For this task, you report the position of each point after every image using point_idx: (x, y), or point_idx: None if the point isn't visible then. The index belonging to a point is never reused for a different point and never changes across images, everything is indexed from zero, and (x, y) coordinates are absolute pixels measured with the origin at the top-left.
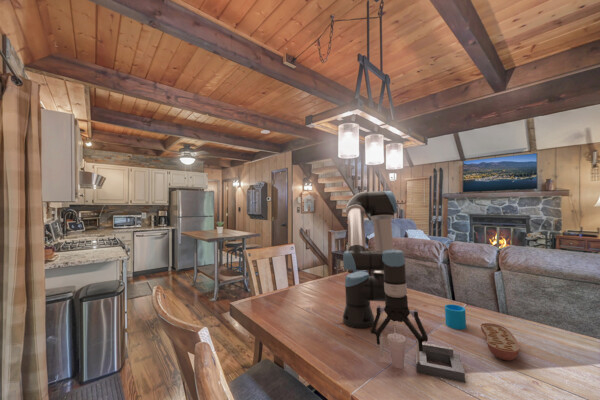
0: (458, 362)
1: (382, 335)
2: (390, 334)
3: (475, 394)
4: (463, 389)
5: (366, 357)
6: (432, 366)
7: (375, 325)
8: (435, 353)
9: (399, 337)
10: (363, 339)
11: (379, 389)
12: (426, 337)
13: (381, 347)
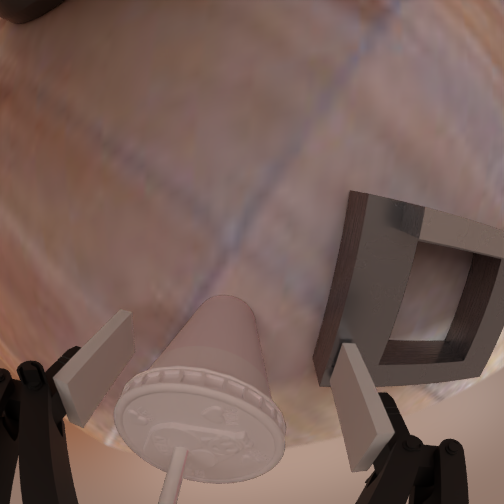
0: (502, 312)
1: (74, 375)
2: (130, 401)
3: (453, 394)
4: (438, 389)
5: (74, 281)
6: (392, 383)
7: (9, 463)
8: (456, 247)
9: (221, 453)
10: (49, 101)
11: None
12: (431, 491)
13: (111, 379)
